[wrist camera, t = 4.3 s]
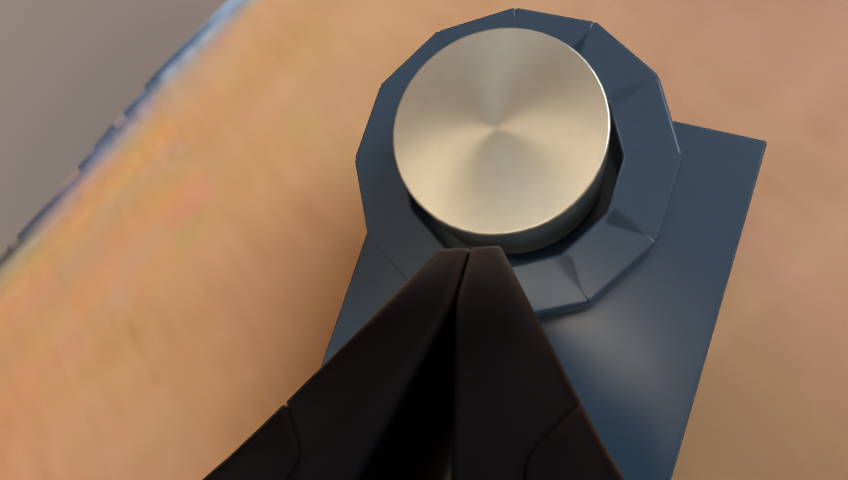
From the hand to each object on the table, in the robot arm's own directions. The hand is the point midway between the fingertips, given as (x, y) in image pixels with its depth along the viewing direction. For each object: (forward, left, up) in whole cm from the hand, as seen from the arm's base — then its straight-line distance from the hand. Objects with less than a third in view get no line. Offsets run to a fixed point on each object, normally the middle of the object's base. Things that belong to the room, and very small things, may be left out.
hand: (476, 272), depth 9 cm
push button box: (+1, 0, -12) cm, 12 cm away
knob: (+3, +1, -6) cm, 7 cm away
